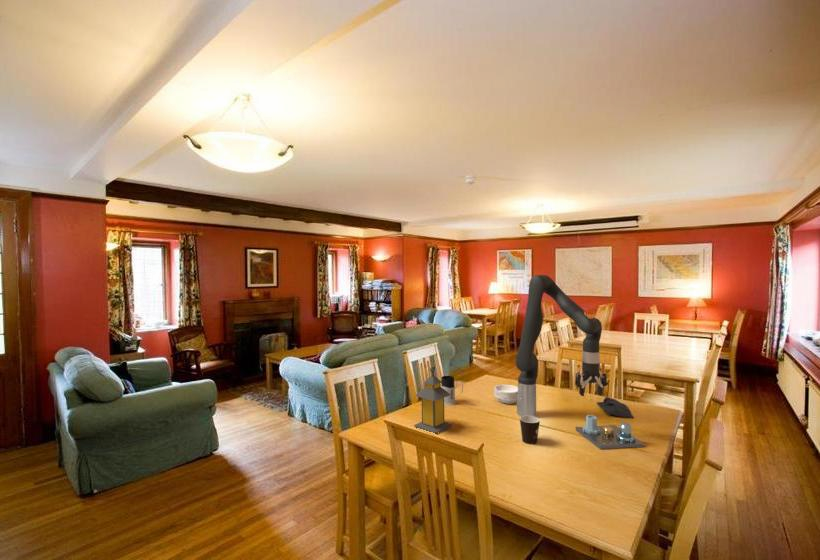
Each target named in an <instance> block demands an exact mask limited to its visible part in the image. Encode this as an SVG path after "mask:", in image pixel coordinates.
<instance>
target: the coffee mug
mask: <svg viewBox="0 0 820 560" xmlns="http://www.w3.org/2000/svg"><path fill="white" fill-rule="evenodd" d="M540 421H541V420H540V418H539V417H537V416H536V417H534V416H519V424H520V430H521V431H520V433H521V438H522V442H523V443H524V444H527V445H536V444H538V438H539V429H540Z"/></svg>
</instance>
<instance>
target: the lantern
mask: <svg viewBox="0 0 820 560" xmlns="http://www.w3.org/2000/svg"><path fill="white" fill-rule="evenodd" d="M429 370H430V371H429V372H430V374H431V375H430V376H429V377H428V378H427V379H425V381H423V383H424V387H423V388H422V389H421V390H419V391H418V392H417V393H416V394H415V395H414V396H415V397H419V398H421V421H420V422H418V423H416V424H414V428H415V427H416V428H415V429H417V428H420V429H423V430H426V431H429V432H433V433H435V434H436V435H438V434H437V433H438V432H441V431H443V432H445V431H446V430H449V429H450V428H452V426H453V424H452V423H451V422H447V421H446V420H445V405H444V398H445V397H447V396H450V395H451V394H450V393H448V392H447V391H446V390H444V389H443V388H442V387H441V379H439V378H438V377H436V376H435V370H436V367H435V366H430V367H429ZM420 429H419V430H420ZM444 430H445V431H444ZM441 433H442V432H441Z"/></svg>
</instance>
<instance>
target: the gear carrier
mask: <svg viewBox="0 0 820 560" xmlns="http://www.w3.org/2000/svg"><path fill="white" fill-rule="evenodd" d="M582 427H583V426H577V427H575V431H576V432H578V434H580V435H581V436H583V437H584V438H585V439H586V440H587V441H589V442H590V443H591V444H593V446H595V447H596V448H598V449H599V450H613V449H630V448H629V447H633V448H644V447H645V443H644V442H643V441H641V440H640V439H638V438H637V437H635V435H634V434H633V435H632V424H631V423H628V422H625V421H624V422H623V421H622V422H620V423H619V426H618V425H616V424H613V425H611V424H607V425H597V428H600V430H601V433H599V434H588V433H586V432H584V431H583V429H582ZM643 446H644V447H643Z"/></svg>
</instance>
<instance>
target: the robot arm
mask: <svg viewBox="0 0 820 560" xmlns="http://www.w3.org/2000/svg"><path fill="white" fill-rule="evenodd" d="M544 294H545V295H548V296H549V297H551V298H552V299H553V300H554V301H555V302H556V304H557V306H558V307H559V309H560V310H561V311H562V312H563V313H564V314H566V316H568V318H569V319H571V320H572V321H573V323H574V324H575V326H577V327H578V328H579V330H580V331H581V332H583V333H584V334H585V338H584V339H583V341H582V356H581V362H582V363H581V370H582V373H578V372H576V373H575V376H574V377H575V379H574V385H575V386H576V387H578V394H579V396H581V397H584V396H585V386H587V385H588V384H596V385H597V389H596V390H597V395H598V396H602V395H603V388H604V387H608V381H607V378H608V377H607V374H606V373H605V372H603V371H602V372H601V356H600V340H601V337H602V330H603V326H602V322H601V321H600V319H598V318H596V317H588V316H587V315H586V313H585V310H584V309H583V308H582V307H581V306H580V305H579V304H577V303H576V302H575V301H574V300H573V299H572V298H571V297H569V296H568V295H567V294H566V293H565V292H564V291H563V290H562V289H561V288H560V287H559V286H558V285H557V284H556V282H555V281H554V280H553V279H552V278H551V276H550V275H547V274H536V275H533V276H532V277H531V278H530V280H529V284H528V294H527V295H528V297H527V304H526V309H525V310H526V311H525V315H524V319H523V325H522V331H521V337H520V342H519V346H518V350H517V353H516V356H515V360H514V361H515V366H516V368H517V369H518V370H519V371H520V373H519V375H518V377H517V387H518V395H517V401H516V413H517V414H518V416H519V417H521V416H534V417H537V379H538V375H539V373H538V372H539V361H538V357H537V354H535V353H534V352H533V350H534V346H535V344H536V342H537V341H538V338H539V337H540V335H541V332H542V328H543V322H544V314H543V309H542V299H543V296H544ZM600 379H601V380H600Z"/></svg>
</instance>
